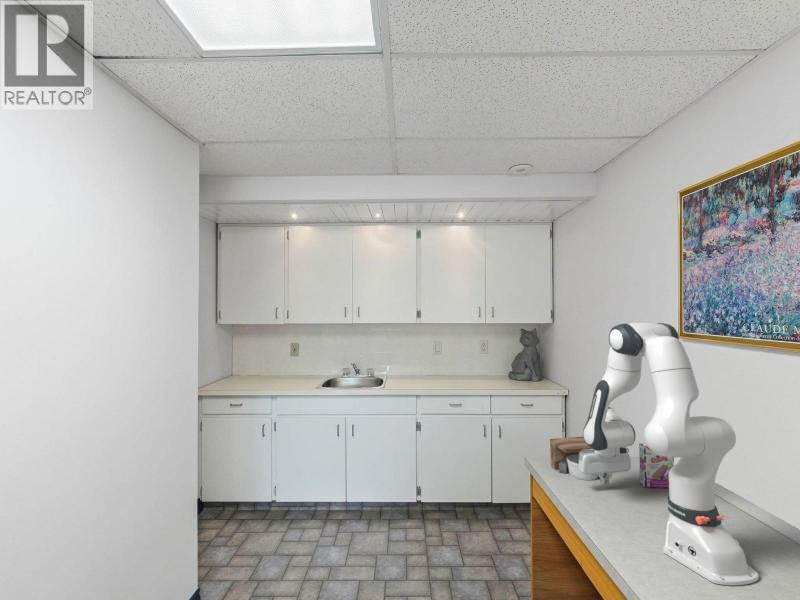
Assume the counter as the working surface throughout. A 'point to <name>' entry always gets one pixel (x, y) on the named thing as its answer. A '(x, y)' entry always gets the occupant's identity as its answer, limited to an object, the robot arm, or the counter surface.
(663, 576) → the counter surface
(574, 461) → the ramekin
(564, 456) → the walnut shelf
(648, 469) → the candy bar box
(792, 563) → the counter surface
